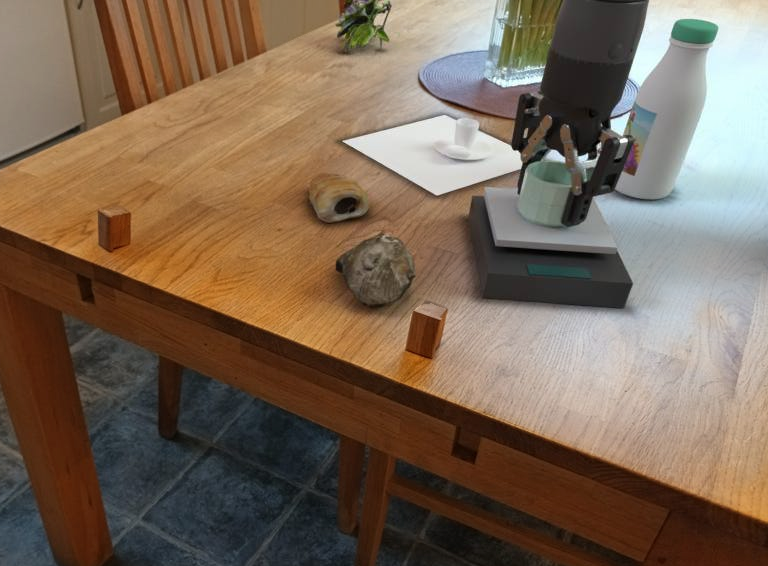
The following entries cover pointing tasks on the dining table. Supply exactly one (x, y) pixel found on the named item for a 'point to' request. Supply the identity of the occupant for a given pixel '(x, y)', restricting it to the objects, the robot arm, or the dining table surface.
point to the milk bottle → (667, 112)
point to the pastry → (337, 197)
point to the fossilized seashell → (377, 270)
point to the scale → (544, 256)
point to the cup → (545, 192)
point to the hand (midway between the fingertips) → (547, 208)
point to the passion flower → (362, 23)
